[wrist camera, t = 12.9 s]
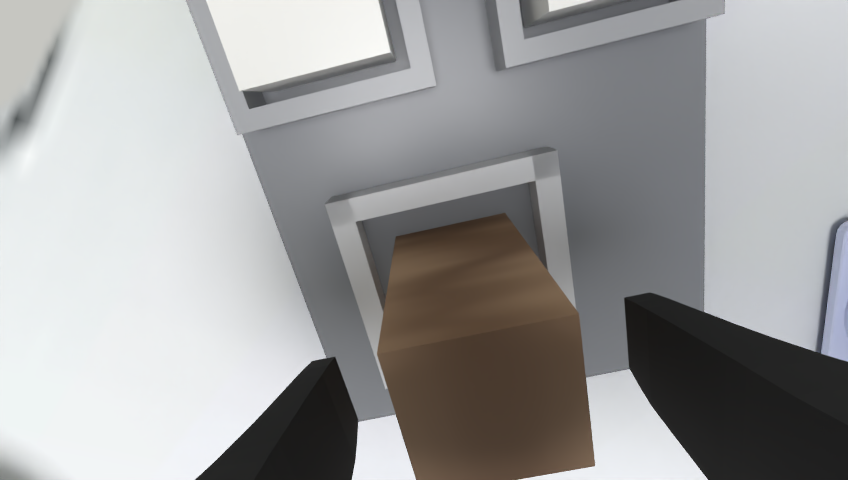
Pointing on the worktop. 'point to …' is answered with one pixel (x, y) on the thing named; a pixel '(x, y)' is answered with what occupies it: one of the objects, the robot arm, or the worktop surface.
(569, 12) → the button
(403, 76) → the breaker panel
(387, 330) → the block
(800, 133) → the worktop surface
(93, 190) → the worktop surface
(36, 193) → the worktop surface
